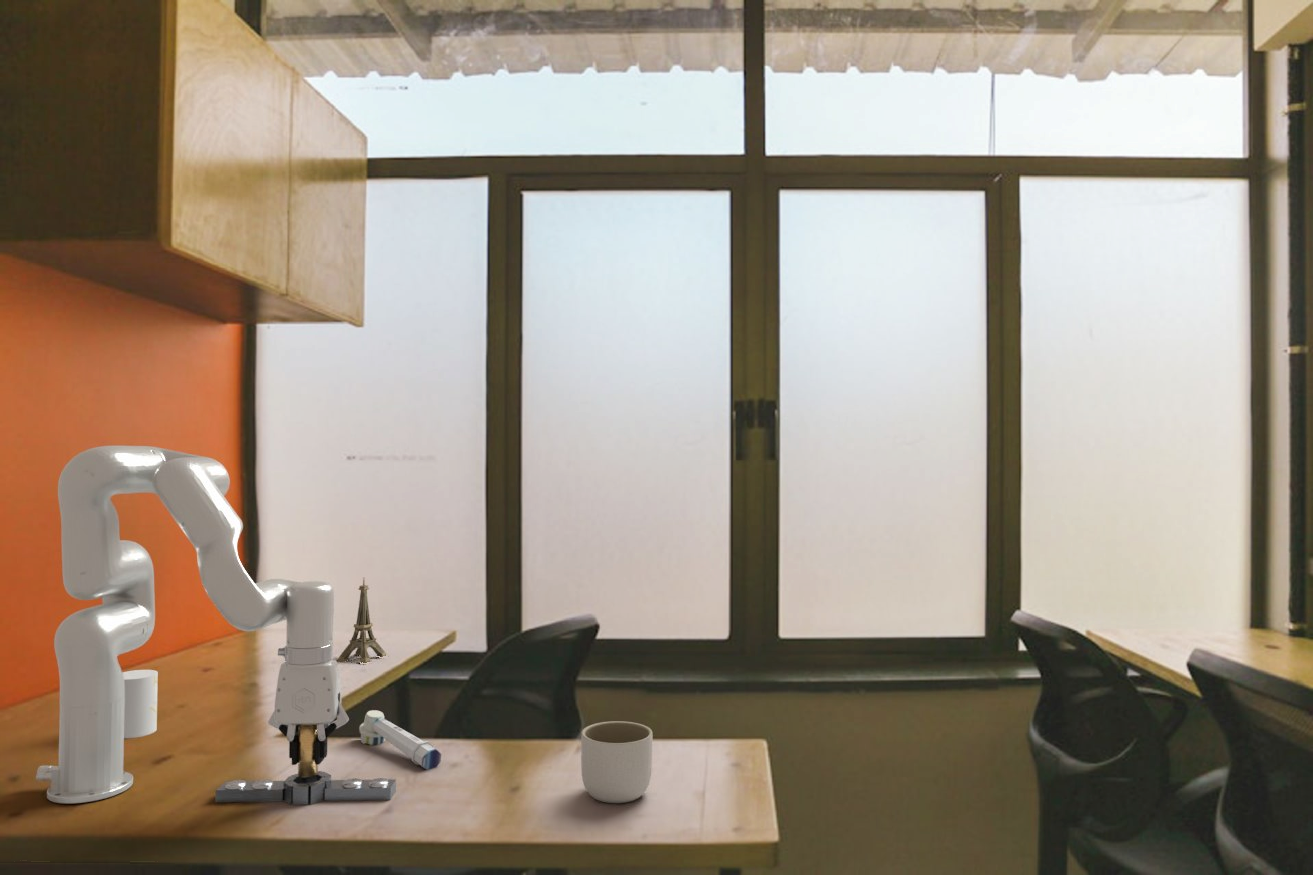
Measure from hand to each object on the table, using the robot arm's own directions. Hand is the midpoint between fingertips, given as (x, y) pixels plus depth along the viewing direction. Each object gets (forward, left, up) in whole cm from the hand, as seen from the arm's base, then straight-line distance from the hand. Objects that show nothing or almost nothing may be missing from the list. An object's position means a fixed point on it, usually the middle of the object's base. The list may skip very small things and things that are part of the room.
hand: (308, 760), depth 151 cm
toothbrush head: (+10, +22, -7) cm, 25 cm away
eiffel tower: (-17, +100, -6) cm, 102 cm away
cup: (-47, +36, -6) cm, 60 cm away
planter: (+53, -1, -6) cm, 53 cm away
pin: (0, 0, -2) cm, 2 cm away
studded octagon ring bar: (0, 0, -6) cm, 6 cm away
